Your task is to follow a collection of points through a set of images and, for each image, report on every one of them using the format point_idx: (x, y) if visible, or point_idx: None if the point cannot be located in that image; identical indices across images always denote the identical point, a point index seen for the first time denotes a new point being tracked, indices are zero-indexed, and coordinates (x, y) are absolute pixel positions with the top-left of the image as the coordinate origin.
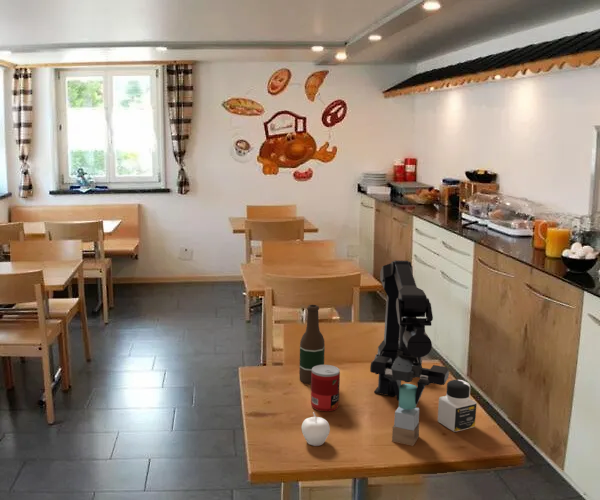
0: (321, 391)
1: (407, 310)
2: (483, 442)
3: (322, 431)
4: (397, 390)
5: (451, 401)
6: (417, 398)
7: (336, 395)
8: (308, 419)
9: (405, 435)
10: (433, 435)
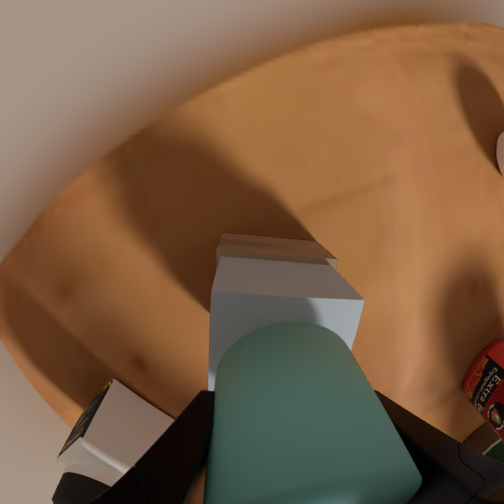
0: None
1: None
2: (35, 335)
3: None
4: (423, 445)
5: (112, 470)
6: (186, 426)
7: (493, 387)
8: None
9: (262, 244)
10: (167, 343)
